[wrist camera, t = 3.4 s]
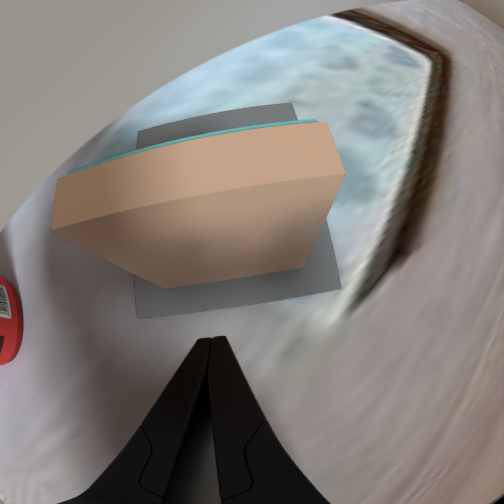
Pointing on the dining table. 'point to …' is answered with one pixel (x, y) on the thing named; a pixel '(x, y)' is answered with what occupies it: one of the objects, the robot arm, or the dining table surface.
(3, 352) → the canned food
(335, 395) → the dining table surface
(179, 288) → the mat
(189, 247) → the tile
